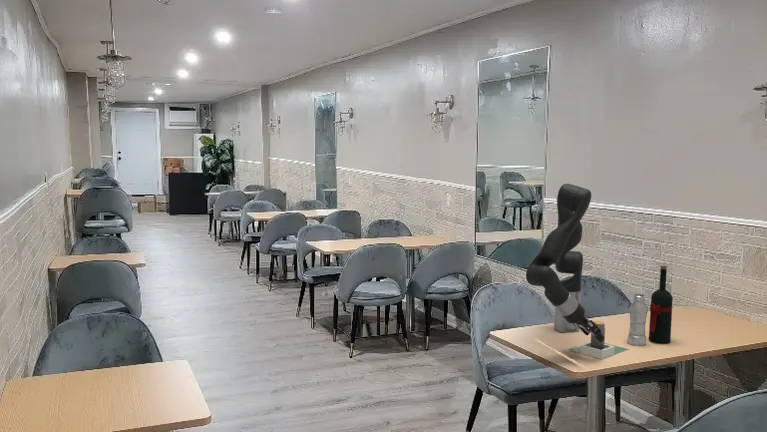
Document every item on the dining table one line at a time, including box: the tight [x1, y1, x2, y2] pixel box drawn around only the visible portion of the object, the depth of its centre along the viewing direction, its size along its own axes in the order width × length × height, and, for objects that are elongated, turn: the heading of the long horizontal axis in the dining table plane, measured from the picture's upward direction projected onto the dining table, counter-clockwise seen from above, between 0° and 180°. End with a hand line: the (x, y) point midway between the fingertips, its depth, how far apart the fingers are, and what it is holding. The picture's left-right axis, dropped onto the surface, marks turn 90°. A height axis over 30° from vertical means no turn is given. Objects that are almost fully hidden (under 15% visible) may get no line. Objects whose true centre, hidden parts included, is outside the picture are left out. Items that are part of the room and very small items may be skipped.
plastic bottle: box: [627, 293, 649, 347], centre depth 243 cm, size 6×7×20 cm
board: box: [567, 341, 630, 360], centre depth 236 cm, size 14×19×4 cm
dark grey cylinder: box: [590, 320, 606, 350], centre depth 230 cm, size 5×4×12 cm
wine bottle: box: [648, 265, 674, 345], centre depth 250 cm, size 8×10×30 cm
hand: (595, 336), depth 230 cm, fingers open, 8 cm apart
